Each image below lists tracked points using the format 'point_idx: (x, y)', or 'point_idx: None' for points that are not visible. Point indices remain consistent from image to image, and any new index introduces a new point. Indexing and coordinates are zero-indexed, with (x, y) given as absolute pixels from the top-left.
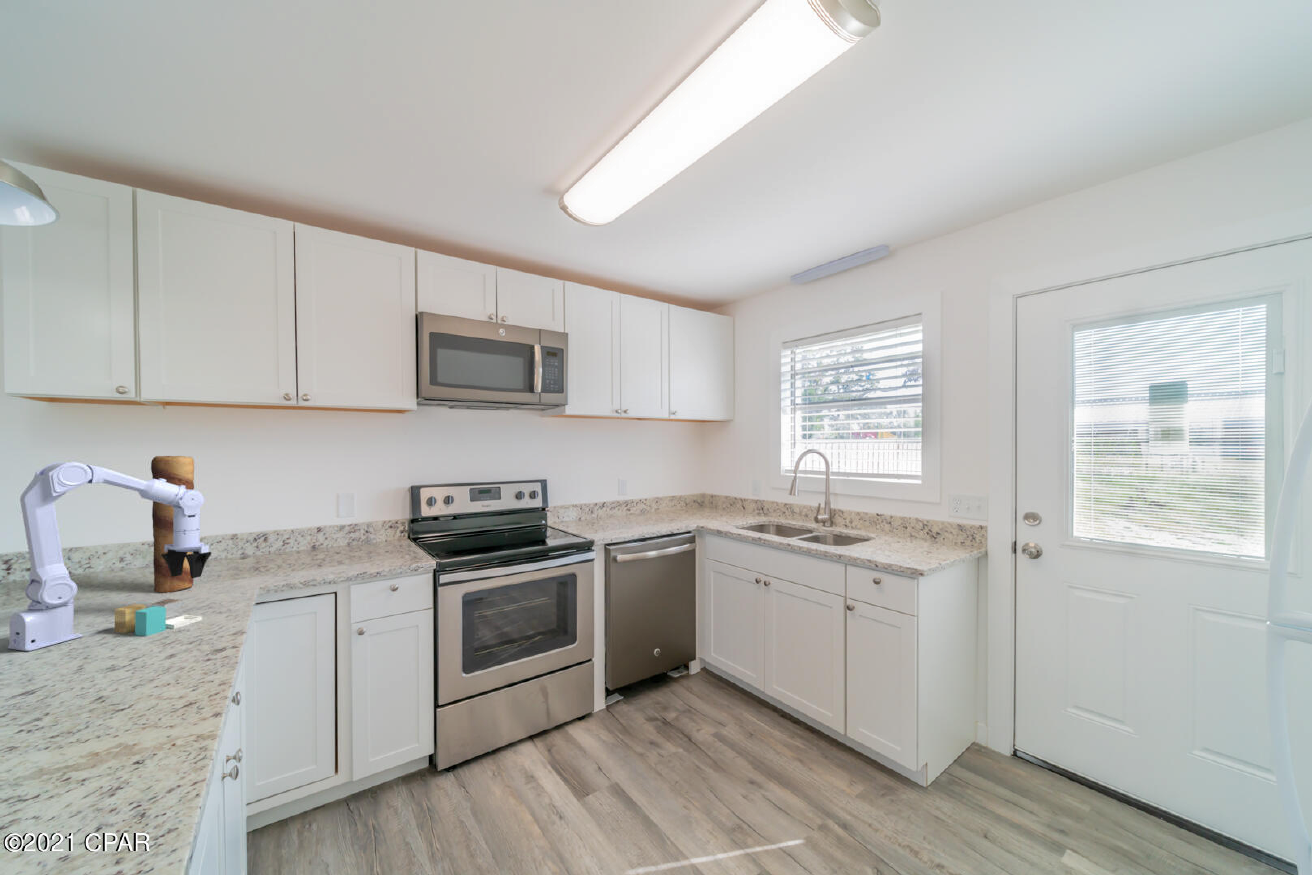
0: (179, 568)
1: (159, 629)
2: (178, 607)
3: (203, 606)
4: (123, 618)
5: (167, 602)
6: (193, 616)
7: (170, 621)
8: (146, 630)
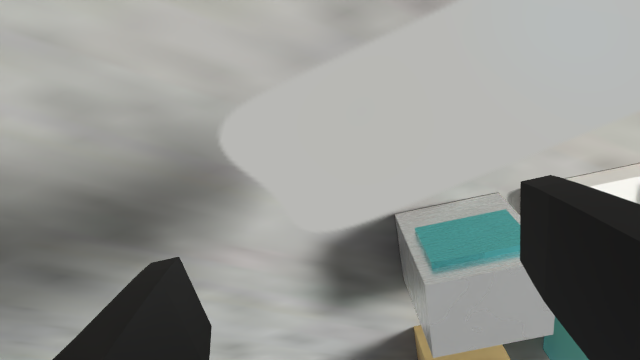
0: (152, 355)
1: None
2: None
3: (344, 18)
4: None
5: (517, 313)
6: (617, 186)
7: None
8: None
